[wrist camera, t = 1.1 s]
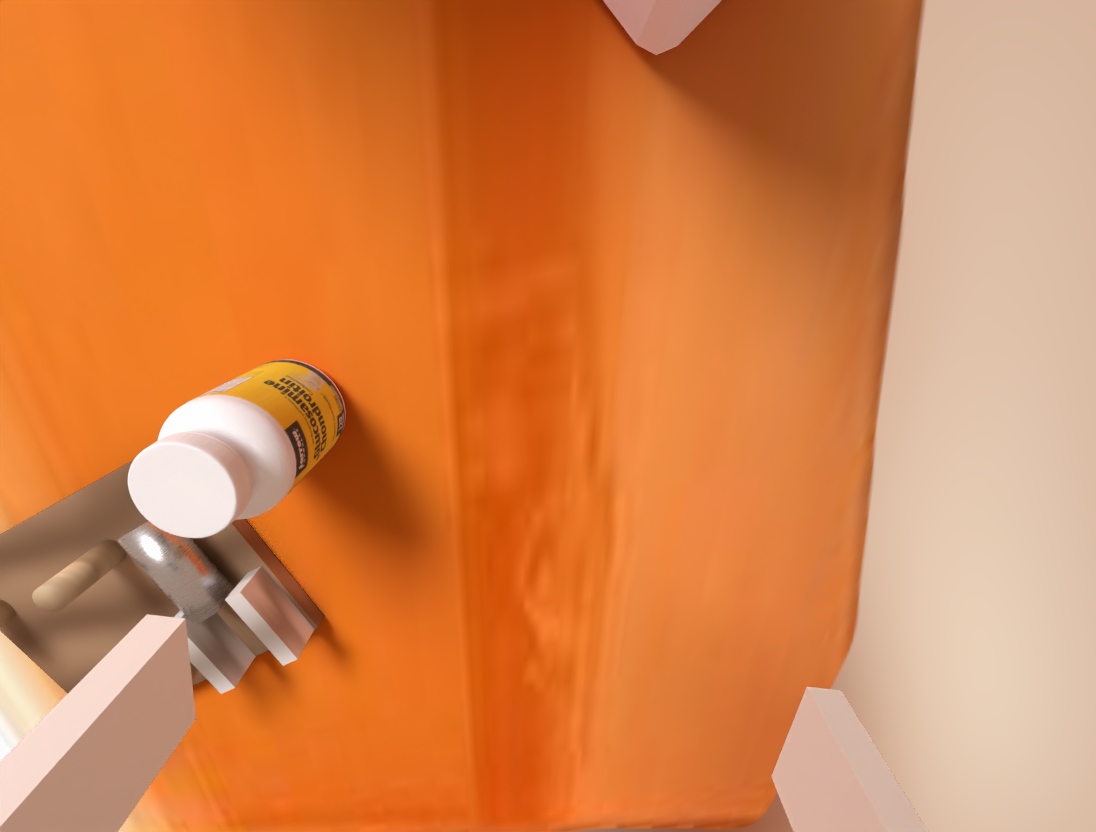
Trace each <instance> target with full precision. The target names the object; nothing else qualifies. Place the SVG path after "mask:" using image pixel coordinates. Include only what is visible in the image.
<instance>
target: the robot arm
mask: <svg viewBox="0 0 1096 832" xmlns="http://www.w3.org/2000/svg"><path fill="white" fill-rule="evenodd" d="M195 720H196V714H195V704H194V695H193V685H192V676H191V666H190V657H189V647H188V638H187V628H186V619H184V618H175V617H166V616H157V615H148V614H147V615H146V616H145V617H144V618H143V619H142V620H141V621H140V622H139V623H138V624H137V625H136V626H135V627H134V628H133V629H132V630H131V631H130V632H129V633H128V634H127V635H126V636H125V637H124V638H123V639H122V640H121V641H120V642H119V643H118V644H117V645H116V646H115V647H114V648H113V649H112V650H111V651H110V652H109V653H108V654H107V655H106V656H105V657H104V658H103V659H102V660H101V661H100V662H99V663H98V664H97V665H96V666H95V667H94V668H93V669H92V670H91V671H90V672H89V673H88V674H87V675H86V676H85V677H84V678H83V679H82V680H81V681H80V682H79V683H78V684H77V685H76V686H75V687H74V688H73V689H72V690H71V691H70V692H69V693H68V694H67V695H66V696H65V697H64V698H63V699H62V700H61V701H60V702H59V703H58V704H57V705H56V706H55V707H54V708H53V709H52V710H51V711H50V712H49V713H48V714H47V715H46V716H45V717H44V718H43V719H42V720H41V721H40V722H39V723H38V724H37V725H36V726H35V727H34V728H33V729H32V730H31V731H30V732H29V733H28V734H27V735H26V736H25V737H24V738H23V739H22V740H21V741H20V742H19V743H18V744H17V745H16V746H15V747H14V748H13V749H12V750H11V751H10V752H9V753H8V754H7V755H6V756H5V757H4V758H3V759H2V760H1V761H0V832H118V831H119V829H120V828H121V826H122V825H123V823H124V822H125V821H126V819H127V818H128V816H129V815H130V813H131V812H132V810H133V809H134V808H135V806H136V805H137V803H138V802H139V800H140V799H141V797H142V796H143V795H144V793H145V792H146V790H147V789H148V787H149V786H150V785H151V783H152V782H153V780H154V779H155V777H156V776H157V774H158V773H159V772H160V770H161V769H162V767H163V766H164V764H165V763H166V761H167V760H168V759H169V757H170V756H171V754H172V753H173V751H174V750H175V748H176V747H177V746H178V744H179V743H180V741H181V740H182V738H183V737H184V735H185V734H186V733H187V731H188V730H189V728H190V727H191V725H192V724H193V722H194V721H195ZM771 777H772V779H773V782H774V784H775V787H776V789H777V792H778V794H779V797H780V800H781V802H782V804H783V807H784V809H785V812H786V815H787V817H788V820H789V822H790V825H791V827H792V829H793V832H928V831H927V829H926V827H925V826H924V824H923V822H922V821H921V819H920V817H919V816H918V814H917V813H916V811H915V809H914V808H913V806H912V805H911V803H910V801H909V800H908V798H907V796H906V795H905V793H904V792H903V790H902V788H901V787H900V785H899V783H898V782H897V780H896V779H895V777H894V775H893V774H892V772H891V771H890V769H889V767H888V766H887V764H886V762H885V761H884V759H883V758H882V756H881V754H880V753H879V751H878V749H877V748H876V746H875V745H874V743H873V741H872V740H871V738H870V736H869V735H868V733H867V732H866V730H865V729H864V727H863V726H862V724H861V722H860V720H859V719H858V717H857V715H856V714H855V713H854V711H853V709H852V707H851V706H850V704H849V703H848V701H847V700H846V698H845V696H844V694H843V693H842V691H841V690H834V689H825V688H815V687H806V690H805V693H804V695H803V698H802V700H801V703H800V705H799V708H798V710H797V713H796V715H795V718H794V720H793V723H792V725H791V728H790V731H789V733H788V736H787V738H786V741H785V743H784V746H783V748H782V751H781V753H780V756H779V758H778V761H777V764H776V766H775V769H774V771H773V774H772V776H771Z"/></svg>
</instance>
